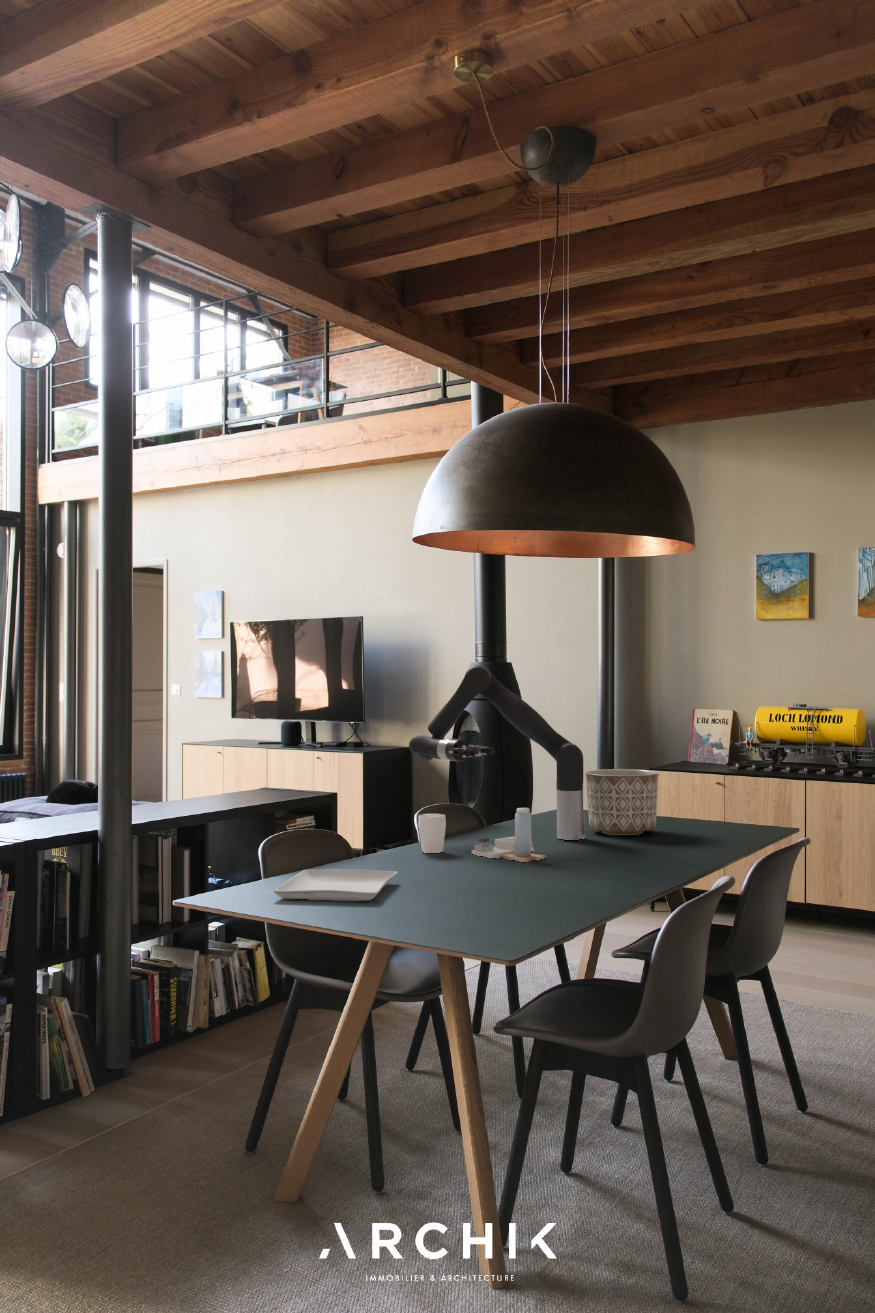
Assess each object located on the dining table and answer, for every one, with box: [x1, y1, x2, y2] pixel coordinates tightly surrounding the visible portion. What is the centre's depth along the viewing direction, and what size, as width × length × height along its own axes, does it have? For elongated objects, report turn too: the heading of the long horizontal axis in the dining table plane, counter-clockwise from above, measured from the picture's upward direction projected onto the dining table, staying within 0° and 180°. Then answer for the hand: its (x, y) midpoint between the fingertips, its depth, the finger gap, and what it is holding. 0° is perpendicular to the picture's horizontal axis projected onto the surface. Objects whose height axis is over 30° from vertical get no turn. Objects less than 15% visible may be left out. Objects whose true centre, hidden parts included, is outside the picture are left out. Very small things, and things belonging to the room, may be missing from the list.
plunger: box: [477, 836, 490, 847], centre depth 315 cm, size 3×3×4 cm
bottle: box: [514, 807, 532, 857], centre depth 308 cm, size 5×5×14 cm
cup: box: [417, 813, 447, 854], centre depth 321 cm, size 9×9×12 cm
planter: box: [584, 768, 659, 834], centre depth 357 cm, size 26×26×22 cm
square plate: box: [273, 868, 398, 902], centre depth 262 cm, size 27×27×4 cm
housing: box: [471, 836, 535, 859], centre depth 317 cm, size 18×10×4 cm, turn 129°
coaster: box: [500, 852, 547, 863], centre depth 308 cm, size 10×10×1 cm
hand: (484, 752), depth 326 cm, fingers open, 8 cm apart
